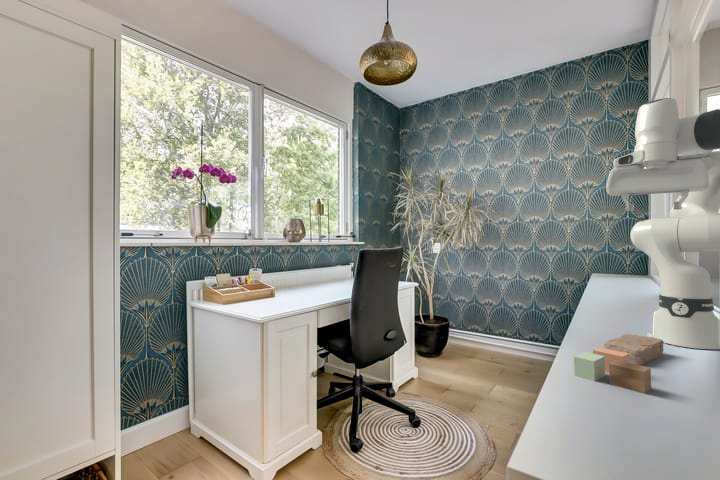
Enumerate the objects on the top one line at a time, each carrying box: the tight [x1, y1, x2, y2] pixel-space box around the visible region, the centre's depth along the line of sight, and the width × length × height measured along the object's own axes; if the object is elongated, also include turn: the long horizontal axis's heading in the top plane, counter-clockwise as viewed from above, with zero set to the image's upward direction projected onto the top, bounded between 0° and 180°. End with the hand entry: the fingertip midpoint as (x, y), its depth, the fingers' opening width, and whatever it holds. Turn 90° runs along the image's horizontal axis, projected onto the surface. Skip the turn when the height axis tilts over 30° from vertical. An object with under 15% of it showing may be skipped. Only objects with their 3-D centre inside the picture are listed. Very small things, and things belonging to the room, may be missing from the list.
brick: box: [602, 333, 665, 366], centre depth 90 cm, size 17×8×5 cm, turn 121°
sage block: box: [573, 351, 606, 382], centre depth 77 cm, size 6×4×4 cm, turn 124°
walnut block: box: [608, 360, 652, 395], centre depth 70 cm, size 6×4×4 cm, turn 34°
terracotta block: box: [592, 347, 629, 373], centre depth 80 cm, size 6×4×4 cm, turn 34°
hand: (652, 209), depth 87 cm, fingers open, 8 cm apart
